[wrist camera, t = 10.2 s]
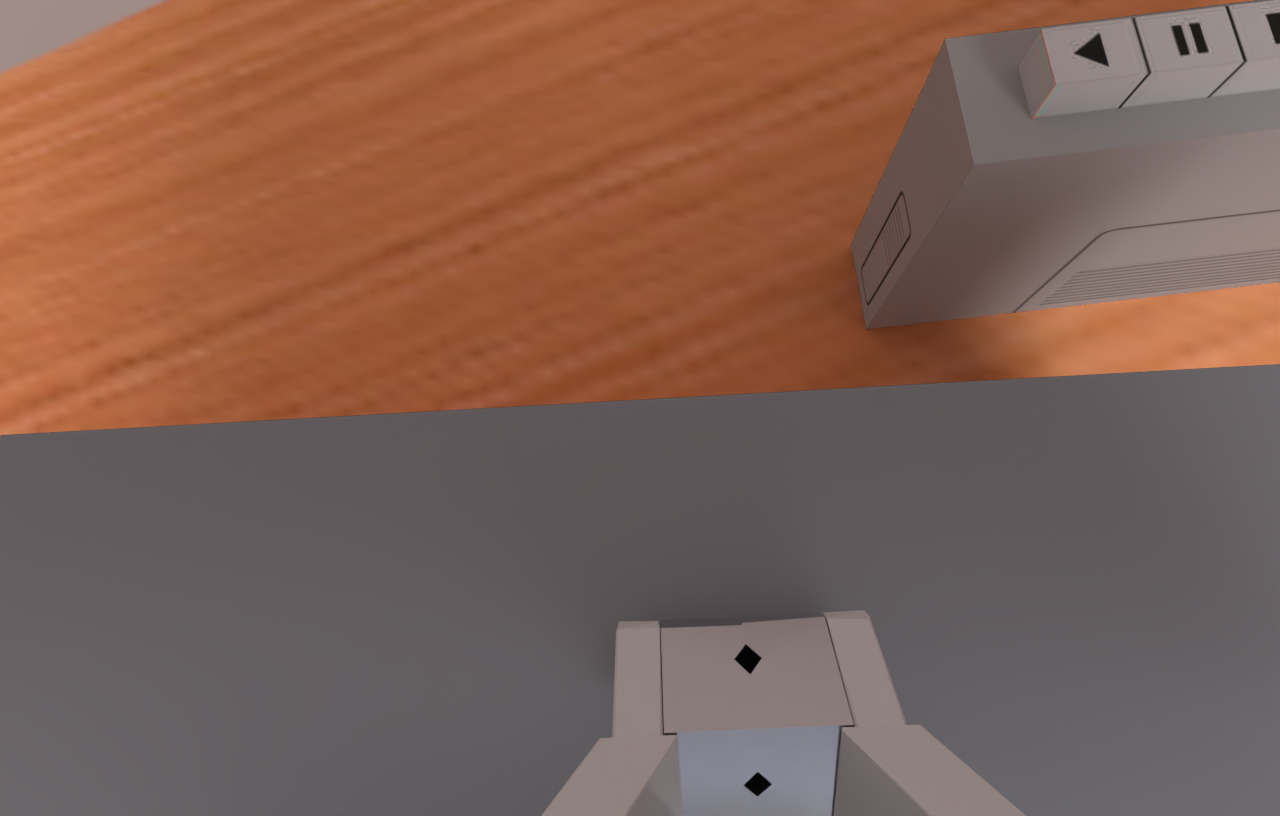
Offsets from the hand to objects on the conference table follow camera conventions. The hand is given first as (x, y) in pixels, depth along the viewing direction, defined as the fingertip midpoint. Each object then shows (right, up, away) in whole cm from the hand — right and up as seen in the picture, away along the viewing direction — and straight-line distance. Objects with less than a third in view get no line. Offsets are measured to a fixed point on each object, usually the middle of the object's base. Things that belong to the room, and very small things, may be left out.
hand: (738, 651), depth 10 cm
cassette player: (+13, +7, +14) cm, 20 cm away
